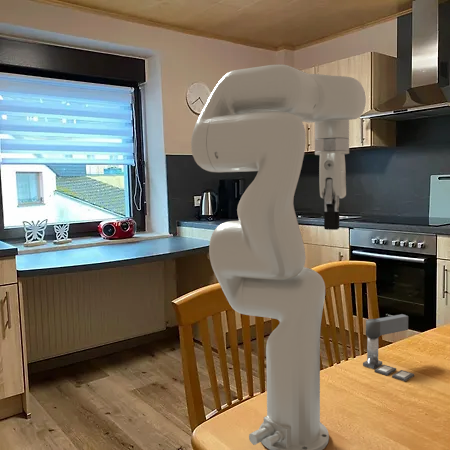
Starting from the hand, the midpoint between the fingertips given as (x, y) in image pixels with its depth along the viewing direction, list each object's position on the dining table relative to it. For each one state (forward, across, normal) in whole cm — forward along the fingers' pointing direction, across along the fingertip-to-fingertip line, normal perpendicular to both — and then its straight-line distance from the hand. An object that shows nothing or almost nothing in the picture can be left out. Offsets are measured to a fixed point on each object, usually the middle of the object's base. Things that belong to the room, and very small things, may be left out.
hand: (331, 229), depth 107 cm
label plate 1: (+35, +7, -12) cm, 38 cm away
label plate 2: (+35, +5, -16) cm, 39 cm away
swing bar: (+27, +13, -12) cm, 33 cm away
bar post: (+35, +10, -9) cm, 38 cm away
